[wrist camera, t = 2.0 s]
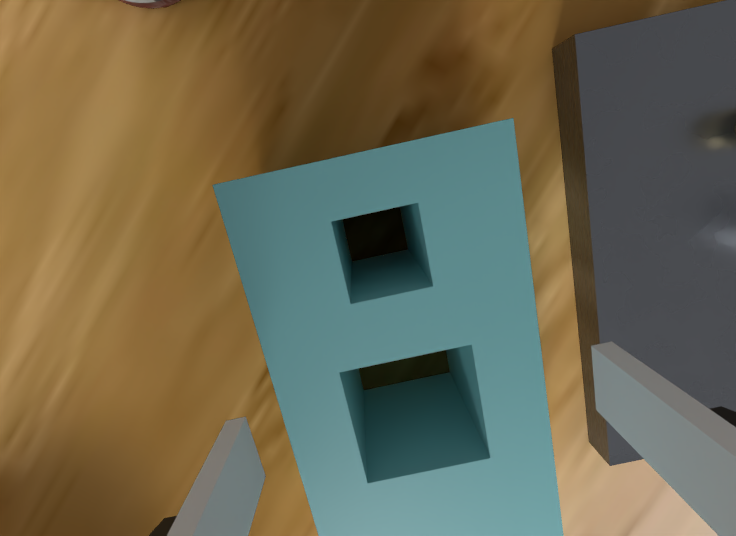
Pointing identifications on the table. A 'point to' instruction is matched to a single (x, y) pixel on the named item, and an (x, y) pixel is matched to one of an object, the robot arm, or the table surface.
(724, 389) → the base
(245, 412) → the table surface
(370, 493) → the teal block with holes
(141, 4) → the supplement bottle
